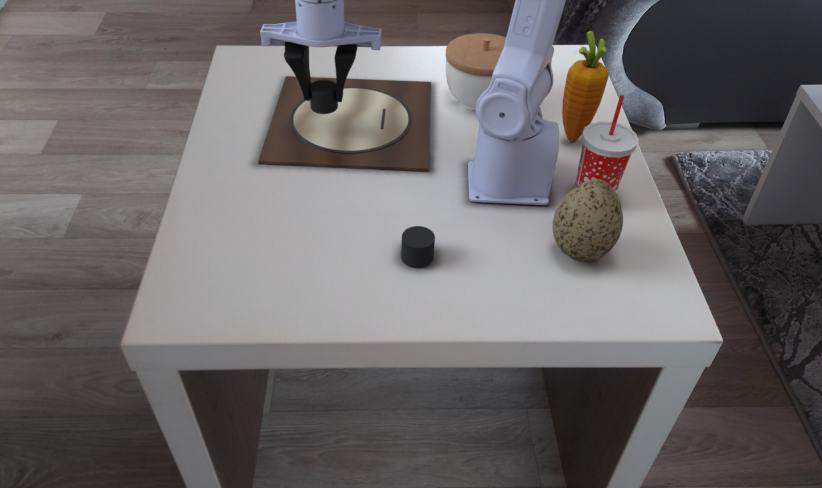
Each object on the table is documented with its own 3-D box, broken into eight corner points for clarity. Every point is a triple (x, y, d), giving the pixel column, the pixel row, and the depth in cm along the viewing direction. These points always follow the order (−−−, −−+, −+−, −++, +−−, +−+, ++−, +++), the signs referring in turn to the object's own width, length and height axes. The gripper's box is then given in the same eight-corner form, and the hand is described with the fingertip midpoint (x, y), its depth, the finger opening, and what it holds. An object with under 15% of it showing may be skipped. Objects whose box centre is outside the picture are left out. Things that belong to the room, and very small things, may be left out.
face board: (430, 84, 104) (431, 80, 104) (428, 171, 88) (428, 167, 88) (286, 79, 105) (285, 75, 105) (258, 164, 90) (257, 159, 89)
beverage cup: (626, 212, 83) (661, 108, 73) (577, 217, 82) (606, 113, 72) (606, 181, 87) (636, 79, 77) (559, 186, 86) (584, 84, 76)
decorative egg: (621, 273, 75) (647, 201, 68) (556, 277, 75) (576, 205, 68) (599, 230, 80) (621, 158, 73) (538, 234, 80) (555, 162, 73)
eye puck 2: (433, 246, 78) (435, 226, 76) (433, 268, 76) (434, 248, 74) (401, 245, 79) (402, 225, 77) (400, 267, 76) (401, 246, 74)
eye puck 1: (339, 100, 92) (338, 79, 90) (336, 114, 90) (335, 94, 88) (312, 99, 93) (311, 78, 90) (308, 113, 90) (307, 93, 88)
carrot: (591, 155, 91) (620, 47, 80) (552, 151, 92) (576, 43, 81) (589, 134, 94) (617, 28, 84) (552, 130, 95) (575, 25, 85)
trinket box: (436, 115, 98) (441, 53, 91) (447, 78, 105) (453, 18, 99) (512, 124, 96) (523, 61, 90) (518, 86, 104) (529, 25, 97)
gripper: (383, -19, 83) (381, 84, 93) (263, -23, 84) (274, 79, 93) (379, 6, 78) (378, 112, 88) (252, 2, 79) (264, 107, 88)
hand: (324, 97), depth 90 cm, fingers closed on eye puck 1, 3 cm apart
